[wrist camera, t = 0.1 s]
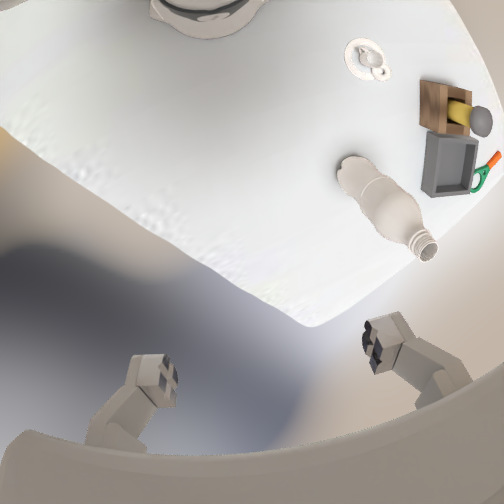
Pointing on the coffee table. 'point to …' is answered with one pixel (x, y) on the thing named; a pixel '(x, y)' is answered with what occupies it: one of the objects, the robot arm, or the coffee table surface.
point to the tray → (449, 164)
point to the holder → (441, 107)
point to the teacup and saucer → (375, 60)
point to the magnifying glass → (485, 171)
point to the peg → (470, 117)
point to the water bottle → (387, 206)
